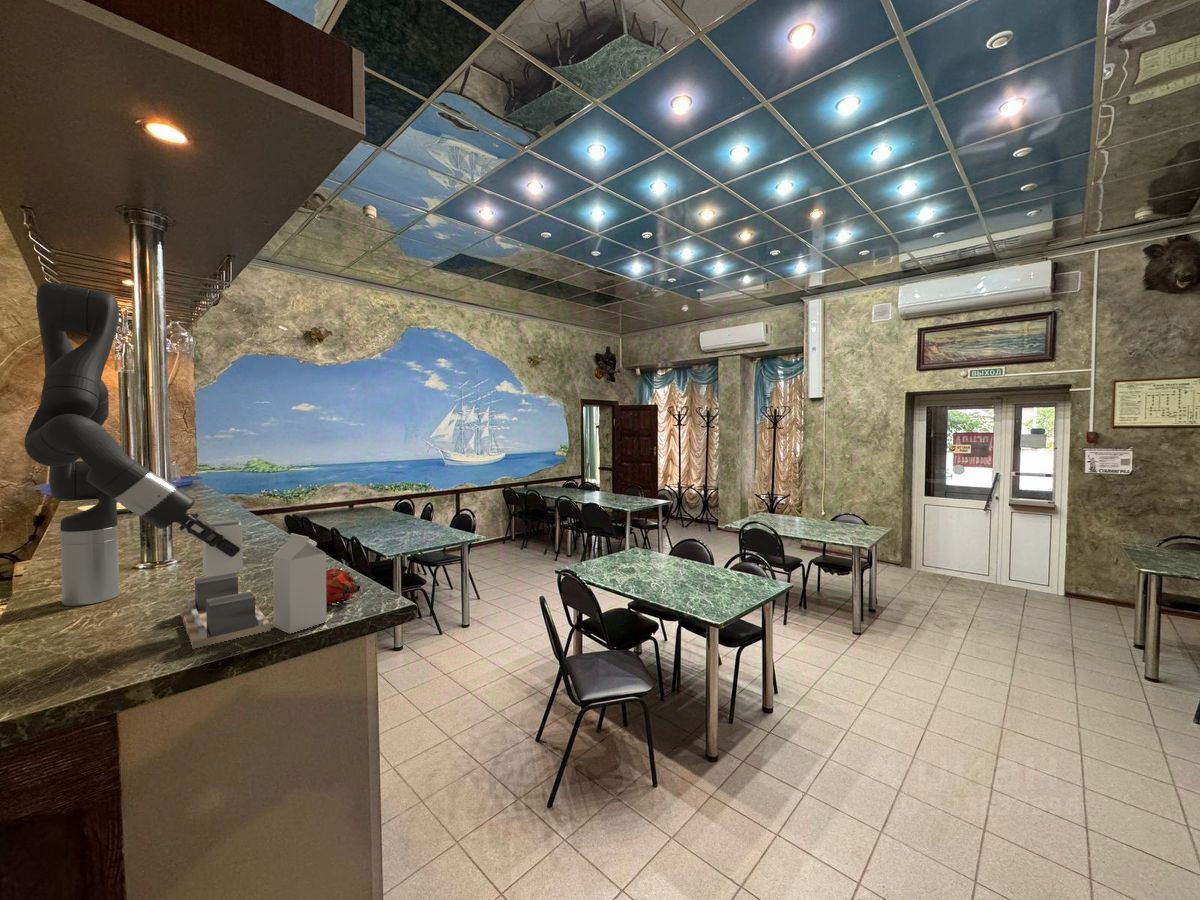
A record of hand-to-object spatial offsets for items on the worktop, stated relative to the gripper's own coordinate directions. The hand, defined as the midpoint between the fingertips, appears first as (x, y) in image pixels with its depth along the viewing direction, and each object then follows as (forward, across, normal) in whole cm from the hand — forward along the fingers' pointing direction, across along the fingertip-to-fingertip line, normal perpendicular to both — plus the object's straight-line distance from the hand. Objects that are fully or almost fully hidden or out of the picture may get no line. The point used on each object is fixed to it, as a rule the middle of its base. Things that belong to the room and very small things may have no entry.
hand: (233, 550), depth 100 cm
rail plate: (+9, 0, +12) cm, 15 cm away
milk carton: (+17, -13, +4) cm, 22 cm away
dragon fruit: (+24, -3, -3) cm, 25 cm away
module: (+2, 0, +4) cm, 5 cm away
